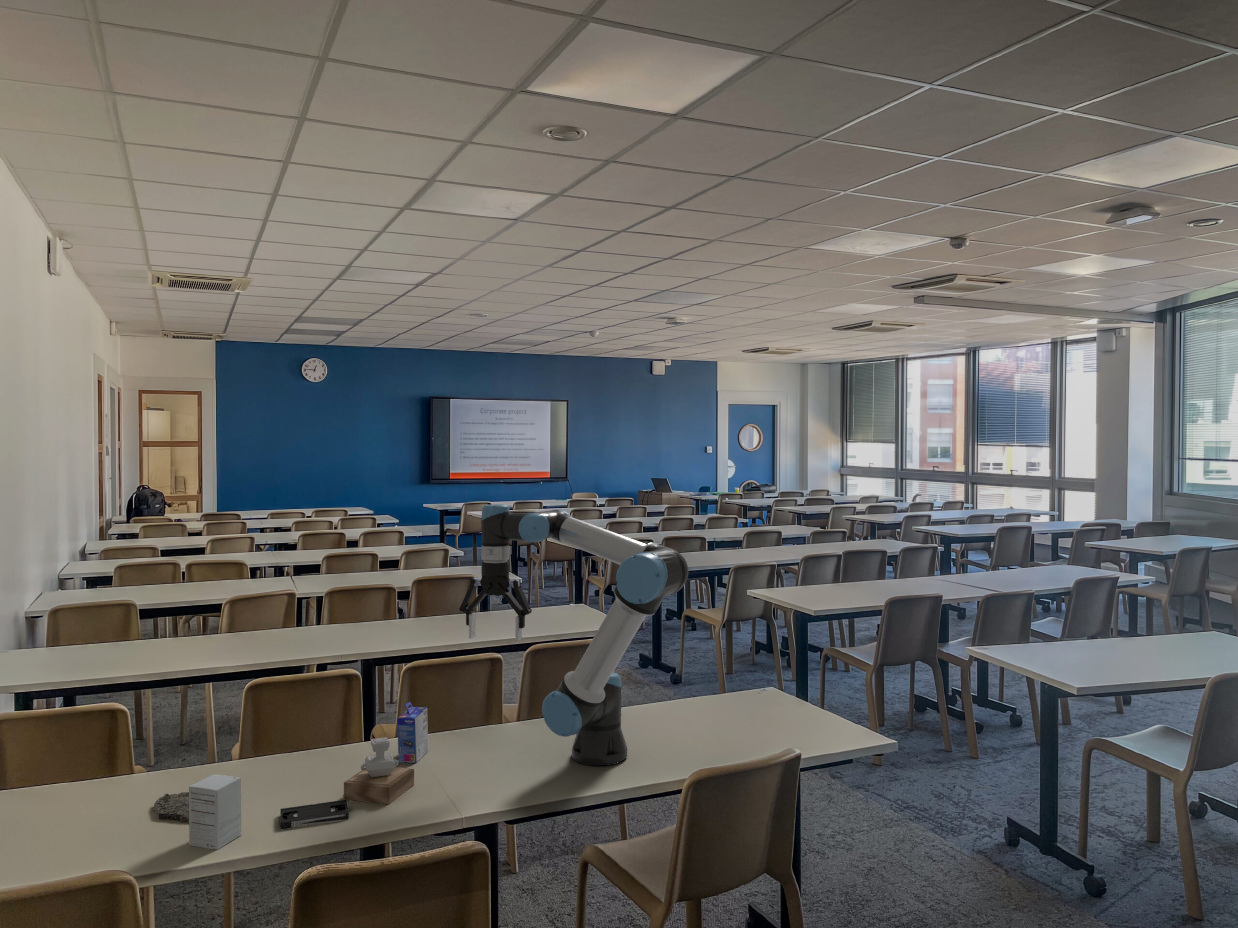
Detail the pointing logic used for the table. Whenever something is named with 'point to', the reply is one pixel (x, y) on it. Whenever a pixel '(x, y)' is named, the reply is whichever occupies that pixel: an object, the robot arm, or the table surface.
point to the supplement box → (214, 811)
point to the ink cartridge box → (412, 734)
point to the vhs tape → (313, 814)
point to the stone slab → (173, 806)
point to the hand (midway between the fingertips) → (495, 638)
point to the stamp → (380, 759)
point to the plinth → (379, 786)
